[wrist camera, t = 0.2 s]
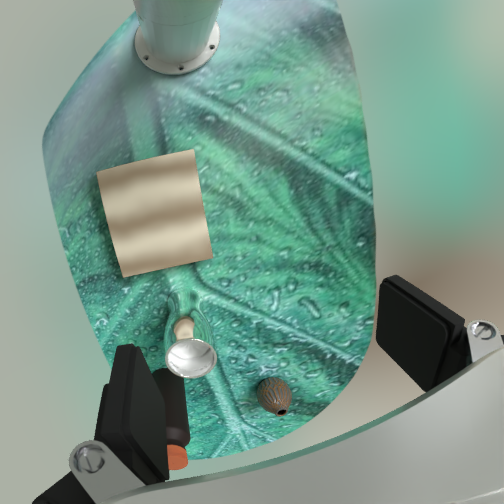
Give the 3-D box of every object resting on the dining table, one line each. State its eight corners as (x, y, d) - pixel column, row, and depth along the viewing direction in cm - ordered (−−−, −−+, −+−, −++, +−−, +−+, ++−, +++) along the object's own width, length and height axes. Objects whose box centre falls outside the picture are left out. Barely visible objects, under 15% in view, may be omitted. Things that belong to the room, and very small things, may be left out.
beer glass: (165, 320, 49) (165, 380, 35) (164, 284, 47) (161, 338, 33) (205, 320, 51) (217, 378, 37) (206, 284, 49) (219, 336, 35)
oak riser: (101, 170, 39) (96, 172, 36) (192, 149, 41) (193, 149, 39) (126, 269, 45) (123, 277, 42) (211, 251, 47) (213, 257, 44)
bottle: (149, 389, 53) (149, 471, 35) (150, 365, 51) (149, 450, 33) (182, 392, 55) (192, 473, 37) (185, 368, 54) (196, 453, 35)
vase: (258, 371, 58) (270, 401, 50) (288, 372, 60) (303, 400, 52) (249, 394, 60) (260, 424, 52) (278, 394, 62) (291, 422, 54)
